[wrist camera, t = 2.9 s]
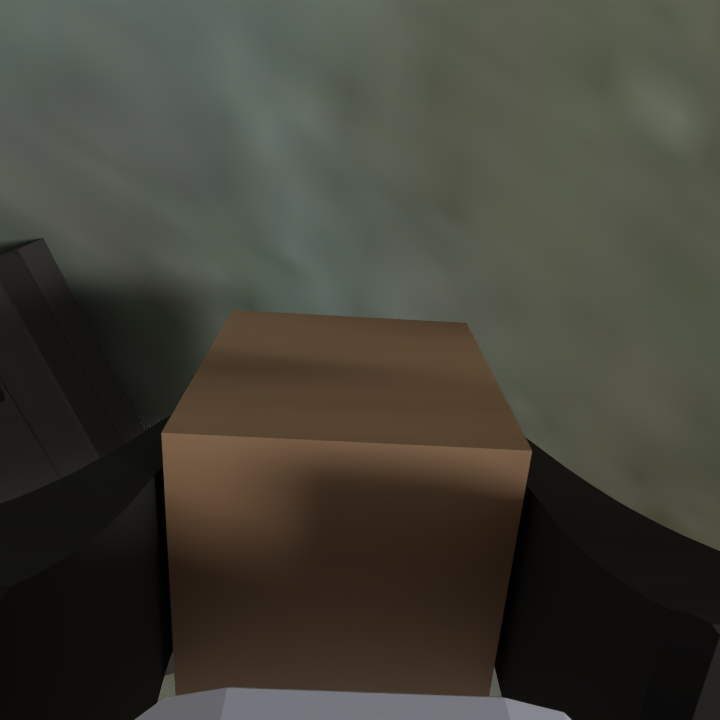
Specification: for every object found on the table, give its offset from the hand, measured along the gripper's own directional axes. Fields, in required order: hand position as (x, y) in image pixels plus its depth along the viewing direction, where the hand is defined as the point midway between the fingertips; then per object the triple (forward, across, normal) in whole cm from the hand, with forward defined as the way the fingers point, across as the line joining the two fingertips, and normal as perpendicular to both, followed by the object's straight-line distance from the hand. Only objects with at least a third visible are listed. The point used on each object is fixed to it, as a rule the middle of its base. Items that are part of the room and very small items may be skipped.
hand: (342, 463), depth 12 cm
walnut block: (+2, 0, 0) cm, 2 cm away
